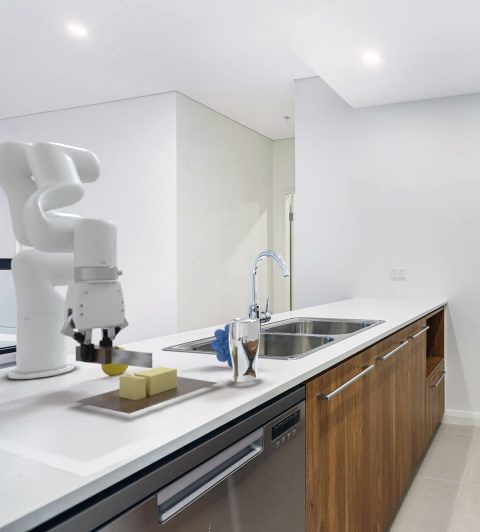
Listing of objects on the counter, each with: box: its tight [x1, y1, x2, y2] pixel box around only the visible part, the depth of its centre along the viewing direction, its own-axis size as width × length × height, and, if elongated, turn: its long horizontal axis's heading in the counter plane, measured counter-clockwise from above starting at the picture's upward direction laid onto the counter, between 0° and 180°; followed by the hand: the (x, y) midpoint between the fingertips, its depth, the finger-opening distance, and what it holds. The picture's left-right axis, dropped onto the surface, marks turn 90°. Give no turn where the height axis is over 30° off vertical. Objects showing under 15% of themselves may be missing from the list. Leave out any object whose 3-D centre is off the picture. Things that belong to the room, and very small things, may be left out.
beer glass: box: [229, 317, 261, 383], centre depth 93 cm, size 7×7×15 cm
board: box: [74, 376, 217, 415], centre depth 84 cm, size 16×20×1 cm
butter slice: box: [119, 374, 146, 400], centre depth 80 cm, size 5×2×4 cm, turn 68°
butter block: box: [133, 366, 178, 396], centre depth 84 cm, size 5×6×4 cm
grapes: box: [210, 323, 233, 369], centre depth 106 cm, size 12×7×12 cm, turn 108°
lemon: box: [100, 345, 129, 377], centre depth 97 cm, size 6×6×8 cm
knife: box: [75, 344, 153, 369], centre depth 84 cm, size 22×3×3 cm, turn 68°
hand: (97, 359), depth 86 cm, fingers closed on knife, 2 cm apart
